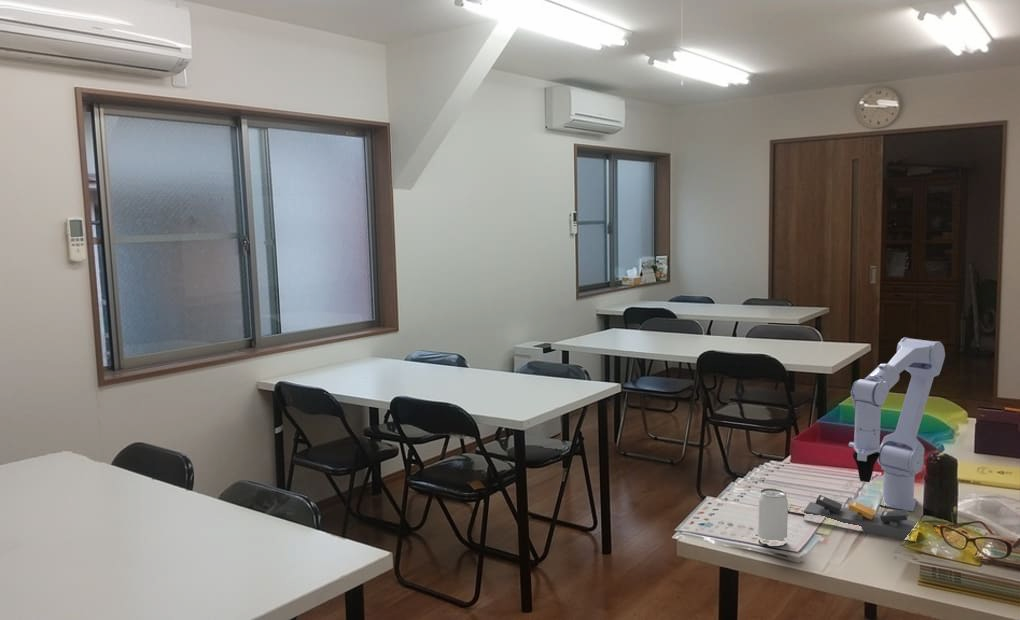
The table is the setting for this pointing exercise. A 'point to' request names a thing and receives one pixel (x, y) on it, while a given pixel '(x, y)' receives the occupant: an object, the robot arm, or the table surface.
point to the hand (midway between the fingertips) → (865, 481)
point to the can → (772, 514)
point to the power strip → (865, 521)
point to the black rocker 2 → (894, 515)
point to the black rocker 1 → (828, 504)
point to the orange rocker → (861, 510)
